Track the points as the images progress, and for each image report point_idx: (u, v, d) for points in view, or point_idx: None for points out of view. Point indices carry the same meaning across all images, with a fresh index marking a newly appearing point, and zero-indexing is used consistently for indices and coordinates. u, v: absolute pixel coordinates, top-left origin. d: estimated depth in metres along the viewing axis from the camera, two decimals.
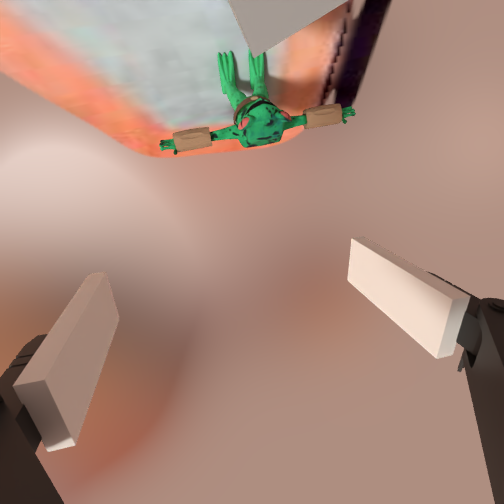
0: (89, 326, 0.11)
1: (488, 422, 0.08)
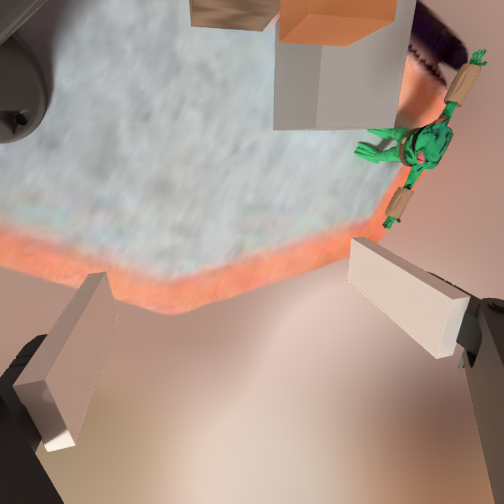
0: (89, 326, 0.11)
1: (488, 422, 0.08)
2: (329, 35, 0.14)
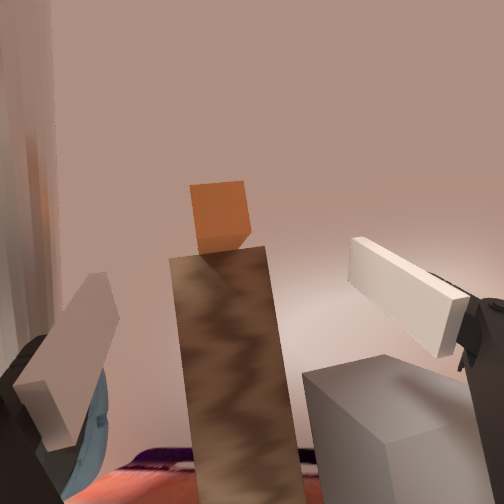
0: (89, 326, 0.11)
1: (488, 422, 0.08)
2: (223, 213, 0.20)
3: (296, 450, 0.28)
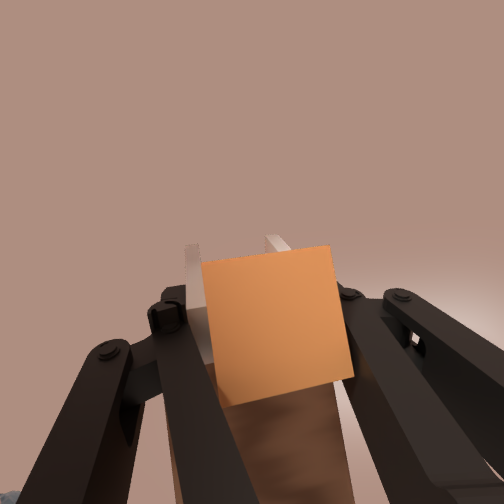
0: None
1: (363, 411, 0.08)
2: (285, 333, 0.08)
3: None
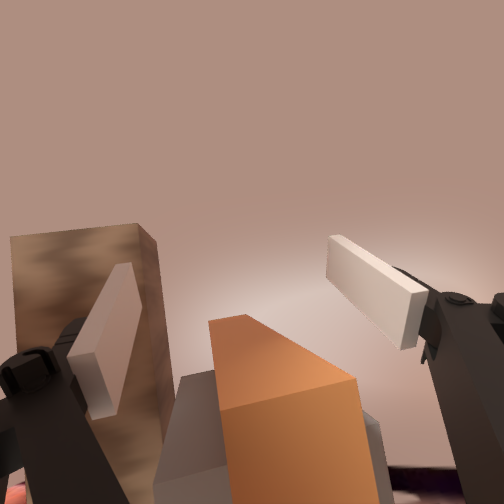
0: (121, 310, 0.11)
1: (452, 414, 0.08)
2: (310, 483, 0.08)
3: None
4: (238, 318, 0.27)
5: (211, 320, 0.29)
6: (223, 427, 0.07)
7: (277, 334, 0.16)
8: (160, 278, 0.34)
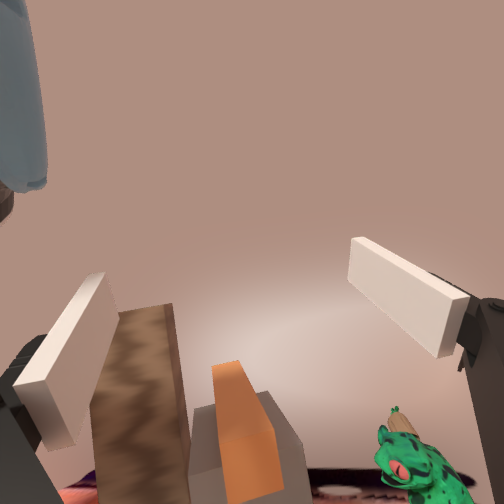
0: (89, 326, 0.11)
1: (488, 422, 0.08)
2: (254, 472, 0.19)
3: (184, 473, 0.34)
4: (232, 366, 0.39)
5: None
6: (220, 450, 0.19)
7: (252, 390, 0.28)
8: (175, 330, 0.46)
